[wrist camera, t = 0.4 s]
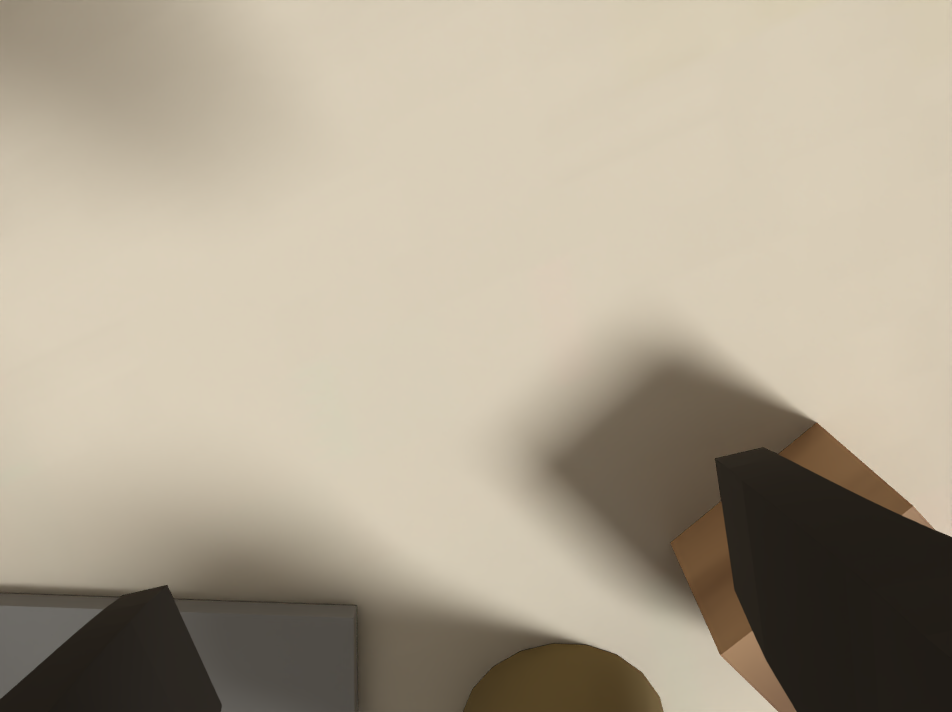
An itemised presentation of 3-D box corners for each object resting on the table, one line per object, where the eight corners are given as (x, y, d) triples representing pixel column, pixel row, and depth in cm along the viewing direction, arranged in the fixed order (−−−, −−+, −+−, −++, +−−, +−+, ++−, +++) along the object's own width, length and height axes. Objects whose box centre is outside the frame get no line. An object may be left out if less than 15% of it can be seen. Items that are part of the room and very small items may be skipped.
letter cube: (930, 546, 22) (1062, 668, 17) (785, 656, 23) (868, 802, 18) (815, 421, 21) (918, 510, 16) (669, 541, 22) (722, 661, 17)
